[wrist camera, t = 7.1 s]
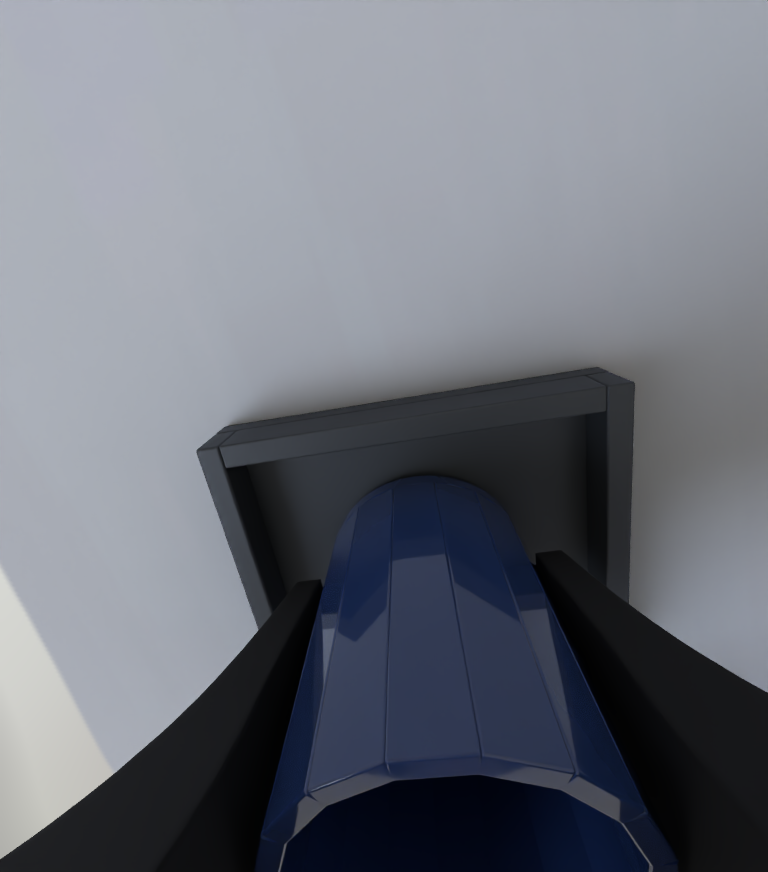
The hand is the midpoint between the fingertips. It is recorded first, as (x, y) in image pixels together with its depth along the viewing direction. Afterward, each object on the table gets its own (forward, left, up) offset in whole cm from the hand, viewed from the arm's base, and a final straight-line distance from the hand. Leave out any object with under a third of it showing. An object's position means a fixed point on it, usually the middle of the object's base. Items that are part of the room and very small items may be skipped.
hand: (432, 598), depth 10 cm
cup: (0, 0, -2) cm, 2 cm away
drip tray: (0, 0, -2) cm, 2 cm away
